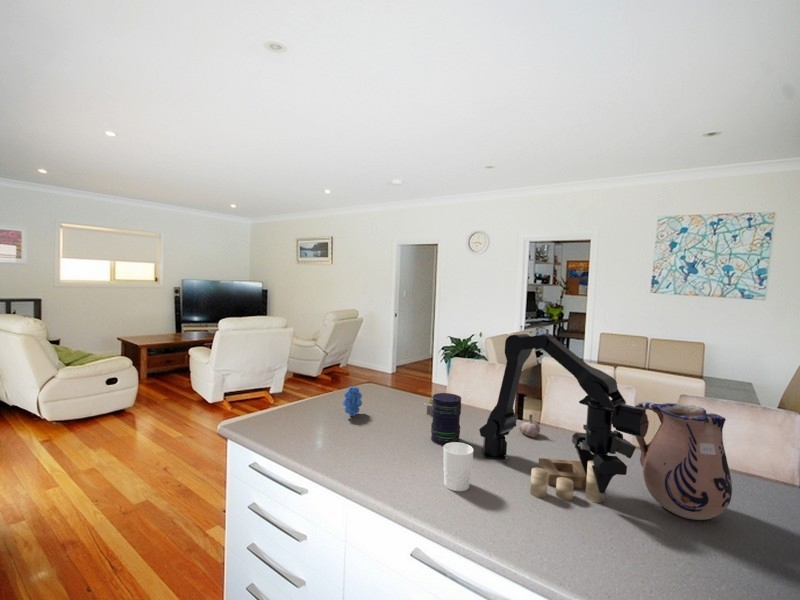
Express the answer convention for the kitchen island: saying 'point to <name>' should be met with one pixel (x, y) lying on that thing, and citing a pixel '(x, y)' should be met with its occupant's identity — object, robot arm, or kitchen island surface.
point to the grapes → (352, 400)
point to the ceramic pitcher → (687, 461)
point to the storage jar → (445, 418)
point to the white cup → (457, 465)
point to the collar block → (564, 471)
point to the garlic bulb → (530, 428)
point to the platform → (429, 407)
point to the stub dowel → (564, 488)
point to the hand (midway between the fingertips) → (594, 484)
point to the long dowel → (592, 486)
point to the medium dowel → (539, 482)
